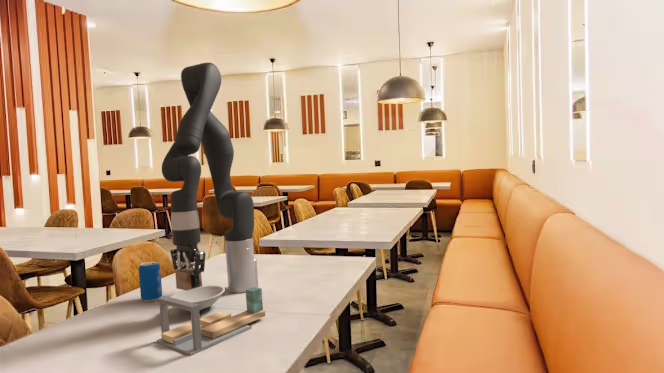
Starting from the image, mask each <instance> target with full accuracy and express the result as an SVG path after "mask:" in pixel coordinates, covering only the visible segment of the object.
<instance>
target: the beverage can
mask: <svg viewBox="0 0 664 373" xmlns="http://www.w3.org/2000/svg"><path fill="white" fill-rule="evenodd" d="M161 272H162V271H161V265H160V264H159V261H157V260H152V261H151V260H149V261H145V262H141V263H139V267H138V278H139V279H138V280H139V289H140V290H139V291H140V292H139V293H140V300H142V301H143V302H144V303H145V302H146V303H148V302H150V303H151V302H155V301H158V298H161V297H163V287H162V274H161Z"/></svg>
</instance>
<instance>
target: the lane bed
mask: <svg viewBox="0 0 664 373" xmlns="http://www.w3.org/2000/svg"><path fill="white" fill-rule="evenodd" d="M157 301H158V303H159V314H160V326H161V333H164V332H167V331H169V330H170V319H169V307H168V306H170V307H174V308H177V309H180V308H181V309H180V310H182V309H184V310H183V311H186V310H188V312H190V321H191V322H192V333H190V334H188V335H185V336H183V337H180V338H178V339H175V340H173V342H174V343H170V342H167V341H164V340H162V337H161V338H159V339H156V344H160V345H162V346H164V347H168V348H170V349H173V350H175V351H177V352H180V353H183V354H186V355H188V356H194V355H195V354H198V353H200V352H202V351H205V350H206V349H209V348H210V347H213V346H215V345H217V344H219V343H222V342H224V341H227V340H228V339H231V338H233V337H235V336H237V335H240V334H242V333H244V332H246V331H249V330H251V329H252V325H249V324H246V325H244V326H241V327H239V328H237V329H234V330H232V331H230V332H227V333H225V334H223V335H220V336H218V337H216V338H210V337H207V336H204V335H202V331H201V329H200V319H201V318H200V317H201V316H200V311H199V309H200V305H199V304H195V303H191V302H187V301H183V300H179V299H175V298H171V296H167V295H164V296H162V297H160V298H158V300H157ZM203 328H204V327H203Z"/></svg>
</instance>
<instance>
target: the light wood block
mask: <svg viewBox="0 0 664 373" xmlns="http://www.w3.org/2000/svg"><path fill="white" fill-rule="evenodd" d="M229 317H232V313H229V312H226V311H225V312H224V311H221V310H220V311H218V312H214V313H213V314H209V315H207V316H205V317H201V318H200V325H203V327H207V326H209V325H212V324H214V323H217V322H219V321H222V320H224V319H227V318H229Z"/></svg>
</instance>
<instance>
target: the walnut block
mask: <svg viewBox="0 0 664 373" xmlns="http://www.w3.org/2000/svg"><path fill="white" fill-rule="evenodd" d="M193 269H194V267H193ZM174 271H175V287H176V289H177V290H178V289H179V290H181V291H184V290H186V291H187V290H191V289H194V288H192V285H191V273H190V269H189V268H188V267H187V268H185V269H181V270H174ZM202 279H203V278H202V272H201V273H200V274H199V280H200V281H199V282H200V286H199V287H201V286H203V280H202ZM197 288H198V287H197Z"/></svg>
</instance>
